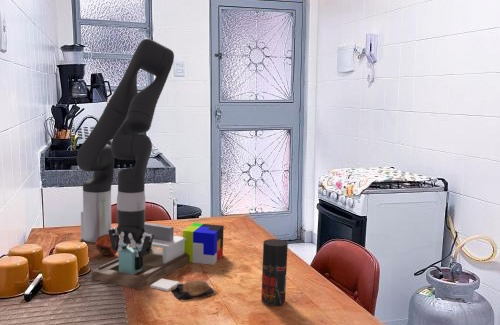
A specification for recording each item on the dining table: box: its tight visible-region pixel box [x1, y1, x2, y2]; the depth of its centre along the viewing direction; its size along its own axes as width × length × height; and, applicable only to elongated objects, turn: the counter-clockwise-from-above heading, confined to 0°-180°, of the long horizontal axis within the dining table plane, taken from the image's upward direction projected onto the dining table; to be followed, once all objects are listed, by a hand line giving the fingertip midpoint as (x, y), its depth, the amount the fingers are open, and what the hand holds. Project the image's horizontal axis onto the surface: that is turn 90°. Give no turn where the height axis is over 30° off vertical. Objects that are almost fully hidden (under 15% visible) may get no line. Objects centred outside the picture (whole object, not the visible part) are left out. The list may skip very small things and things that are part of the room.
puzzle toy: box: [182, 222, 225, 266], centre depth 149 cm, size 10×10×10 cm
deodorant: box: [260, 238, 289, 307], centre depth 118 cm, size 6×6×15 cm
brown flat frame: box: [91, 247, 191, 290], centre depth 138 cm, size 16×25×3 cm, turn 157°
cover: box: [128, 222, 186, 263], centre depth 143 cm, size 14×10×9 cm
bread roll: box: [170, 279, 218, 302], centre depth 123 cm, size 11×8×4 cm
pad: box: [149, 278, 180, 292], centre depth 126 cm, size 6×6×1 cm
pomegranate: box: [95, 234, 118, 260], centre depth 148 cm, size 7×7×10 cm
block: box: [118, 246, 142, 275], centre depth 132 cm, size 4×4×6 cm
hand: (130, 267), depth 132 cm, fingers closed on block, 4 cm apart
